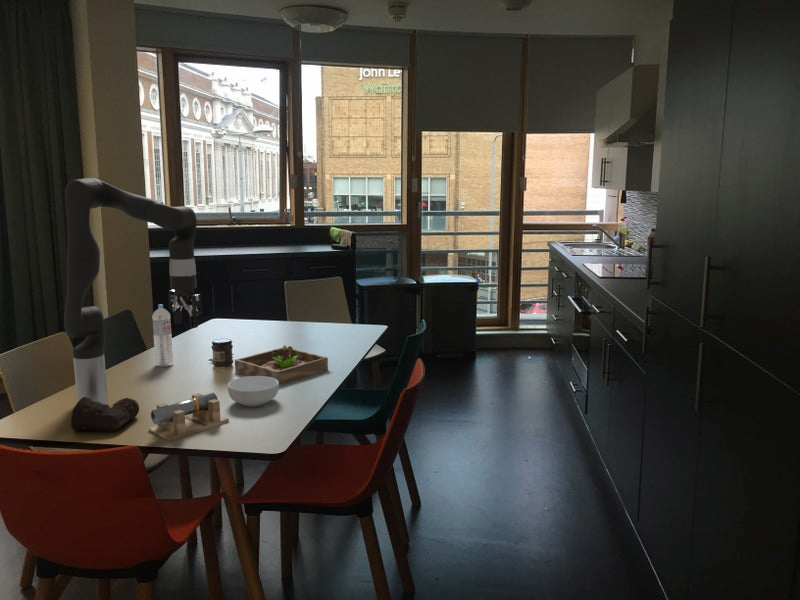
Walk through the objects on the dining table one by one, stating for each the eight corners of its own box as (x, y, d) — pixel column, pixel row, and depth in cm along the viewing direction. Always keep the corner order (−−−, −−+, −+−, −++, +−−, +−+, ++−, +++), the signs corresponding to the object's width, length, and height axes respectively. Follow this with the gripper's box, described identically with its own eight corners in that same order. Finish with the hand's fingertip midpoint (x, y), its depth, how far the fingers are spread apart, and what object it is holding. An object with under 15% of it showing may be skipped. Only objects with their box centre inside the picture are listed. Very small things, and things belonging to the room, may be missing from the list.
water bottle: (159, 368, 256) (154, 307, 252) (153, 364, 261) (148, 304, 257) (176, 365, 260) (172, 304, 256) (169, 361, 266) (166, 302, 261)
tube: (158, 427, 186) (159, 413, 185) (150, 420, 188) (151, 407, 187) (217, 408, 201) (218, 396, 200) (209, 402, 204) (210, 390, 202)
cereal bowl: (255, 415, 206) (255, 393, 205) (217, 406, 214) (216, 385, 213) (289, 399, 220) (288, 379, 219) (252, 391, 228) (251, 372, 227)
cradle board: (148, 431, 192) (147, 407, 191) (206, 412, 208) (205, 390, 206) (170, 441, 185) (169, 416, 183) (229, 421, 200) (227, 398, 199)
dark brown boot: (141, 394, 203) (93, 386, 202) (123, 414, 188) (71, 406, 187) (139, 422, 205) (91, 414, 204) (120, 444, 191) (69, 436, 190)
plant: (254, 379, 244) (252, 350, 242) (266, 364, 263) (265, 338, 261) (306, 379, 243) (305, 351, 241) (315, 365, 263) (314, 338, 260)
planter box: (235, 372, 251) (234, 359, 250) (285, 358, 271) (285, 346, 270) (277, 385, 235) (277, 372, 235) (327, 369, 255) (327, 357, 254)
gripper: (158, 272, 195) (162, 324, 198) (185, 277, 186) (188, 331, 189) (180, 269, 201) (184, 320, 204) (207, 274, 192) (210, 326, 195)
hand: (186, 325), depth 197 cm, fingers open, 8 cm apart
